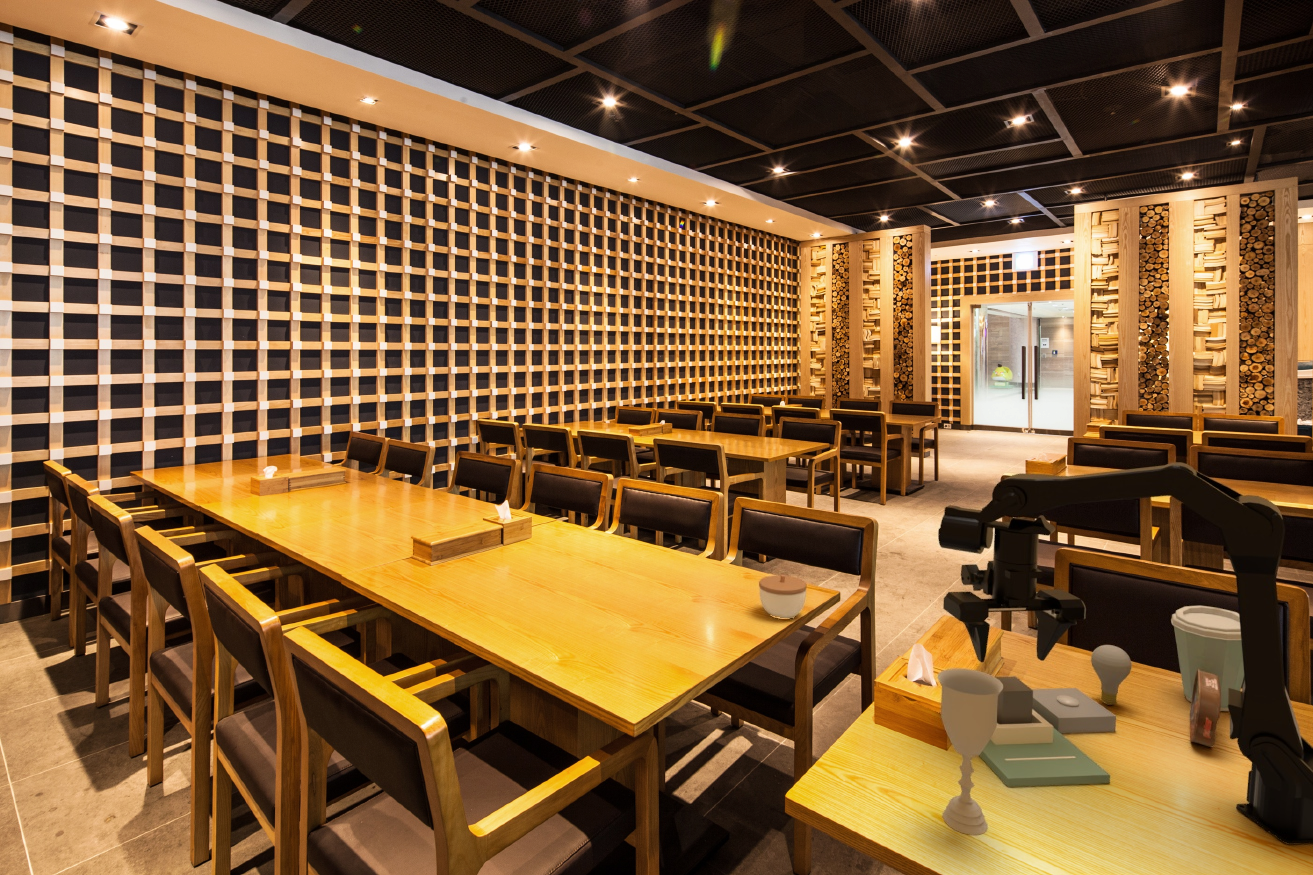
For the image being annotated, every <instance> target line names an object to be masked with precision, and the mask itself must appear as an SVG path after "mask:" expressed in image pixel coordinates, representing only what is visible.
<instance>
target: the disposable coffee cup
mask: <svg viewBox="0 0 1313 875" xmlns="http://www.w3.org/2000/svg"><path fill="white" fill-rule="evenodd" d="M1170 621H1171V625H1172V626H1173V628H1174V630H1173V631H1174V635H1175V642H1176V648H1177V655H1178V656H1177V658H1178V664H1179V669H1180V676H1181V683H1182V691H1183V694H1184V696H1185V697H1186V698H1185V699H1186V701H1188V702H1190V703H1191V701H1192V693H1193V686H1194V681H1195V676H1196V672H1197V670H1198V669H1199V670H1200V671H1204V672H1207V673H1211V674H1214V675H1217V676H1218V677H1219V682H1220V689H1221V710H1220V712H1229V709H1228V688H1231V689H1235V690H1238V691H1242V687H1243V683H1244V666H1243V654H1242V642H1241V630H1240V618H1239V612H1236V611H1233V610H1228V609H1225V608H1224V609H1223V608H1220V607H1216V606H1215V607H1213V606H1206V605H1189V606H1187V605H1186V606H1183V607H1181V608H1179V609H1177V610H1175V613H1173V614H1171V619H1170Z"/></svg>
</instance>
